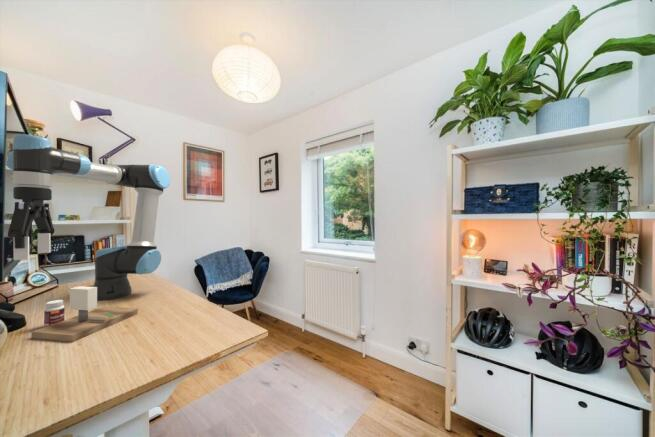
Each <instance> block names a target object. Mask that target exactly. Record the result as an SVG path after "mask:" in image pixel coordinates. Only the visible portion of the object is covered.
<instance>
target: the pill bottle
mask: <svg viewBox="0 0 655 437" xmlns="http://www.w3.org/2000/svg"><path fill="white" fill-rule="evenodd" d="M65 309H66V307H65V305H64V300H63V299H55V300H51V301H47V302H46V303H45V308H44V310H43V328H44V327H47V326H50V325H53V324H55V323H58V322H61V321H64V320H65Z"/></svg>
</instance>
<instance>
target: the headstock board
mask: <svg viewBox="0 0 655 437" xmlns="http://www.w3.org/2000/svg"><path fill="white" fill-rule="evenodd" d="M138 313H139V309H138V308H135V307H134V308H133V307H132V308H131V307H119V306H106V305H105V306H101V307H99V308H98V307H97V308H96V309H95V308H94V309H92V310H89V311H88V320H86V321H83V322H78V315H75V316H72V317H70V318H67V319H64V321H61V322H58V323H55V324H53V325H50V326H47V327H44V326H43V327H42V328H39V329H36V330H33V331H31V333H30V334H31V335H30V336H31V339H38V340H46V339H47V340H49V341H56V342H57V341H58V342H59V341H61V342H69V343H74V342H76V341H79V340H80V339H81V340H82V338H83V339H84V338H86V337H88V336H90V335H92V334H94V333H97V332H99V331H101V330H103V329H106V328H108V327H110V326H113V325H115V324H118V323H120V322H122V321H125V320H126V319H129V318H132V317H134V316H136V315H138ZM90 318H93V319H106V321H105V322H100V321H89V319H90ZM47 340H46V341H47Z"/></svg>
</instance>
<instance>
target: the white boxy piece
mask: <svg viewBox="0 0 655 437" xmlns="http://www.w3.org/2000/svg"><path fill="white" fill-rule="evenodd" d="M95 308H96V309H97V308H98V300H97V287H93V286H84V285H81V286H80V285H79V286H74V287H72V288H69V310H76V311H78V315H77V316H78V322H83V321H86V320H88V312H89V311H91V310H94V309H95ZM89 321H100V322H105V321H106V319H93V318H90V319H89Z"/></svg>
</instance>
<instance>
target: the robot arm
mask: <svg viewBox="0 0 655 437" xmlns="http://www.w3.org/2000/svg"><path fill="white" fill-rule="evenodd" d="M11 149H12V151H9V152H8V161H7V165H6V167H7V168H8V169H9V170H10V171H13V174H12V175H11V176H10V177H11V178H12V179H13V185H14V187H13V199H15V200H20V201H15V202H14V211H13V214H12V217H11V221H10V225H9V228H8V231H7V237H8V238H12V239H13V248H12V249H13V261H24V260H30V236H28V234H29V232H30V229H31V227H32V224H33V222H34V224H35V226H36V227H37V231H38V233H37V254H50V253H51V252H52V250H51V248H52V247H51V244H52V243H51V234H54V233H55V228H54V223H53V220H52V216H51V212H50V204H49V203H44V201H51V200H52V194H53V193H52V192H53V190H52V189H51V187H53V181H52V180H53V179H52V178H53V177H52V176H57V177H67V178H74V179H84V180H90V181H91V180H92V181H100V182H104V183H106V184H110V185H115V186H121V187H124V188H125V187H126V188H134V191H135V192H136V193H137V199H136V204H135V205H136V206H135V207H136V208H135V214H134V220H133V221H134V222H133V230H132V235H131V236H132V237H131V242H129V243H128V244H127V245H124V246H114V247H105V248H100V249H98V250H97V251H95V254H94V255H95V257H94V282H93V285H92V287H97V301H102V300H103V301H104V300H106V301H107V300H111V299H112V300H113V299H118V298H121V297H125V296H128V295H130V294H131V293H132V286H131V285H130V281H129V278H128V275H130V274H131V275H148V274H152V273H153V272H155V271H156V270H157V269H158V268H159V266H160V264H161V262H162V254H161V251H160V250H158V249H157V248H158V247H157V245H156V244H155V243H154V242H155V240H154V239H155V232H156V225H157V216H158V209H159V208H158V207H159V199H160V196H161V195H162V194H163V193H164V189H167V188H169V186H170V183H171V177H170V174H169V172H168V170H166V168H165V167H164V166H162V165H157V164H116V163H115V164H113V163H109V164H108V163H107V164H102V163H98V162H92V161H91V160H90V159H89V157H88V156H86V155H84V154H80V153H78V152H72V151H68V150H64V149H59V148H55V147H53V145H52V141H51V140H50V139H48V138H47V137H43V136H38V135H33V134H24V133H22V134H15V135H14V136H13V139H12V148H11Z"/></svg>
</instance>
